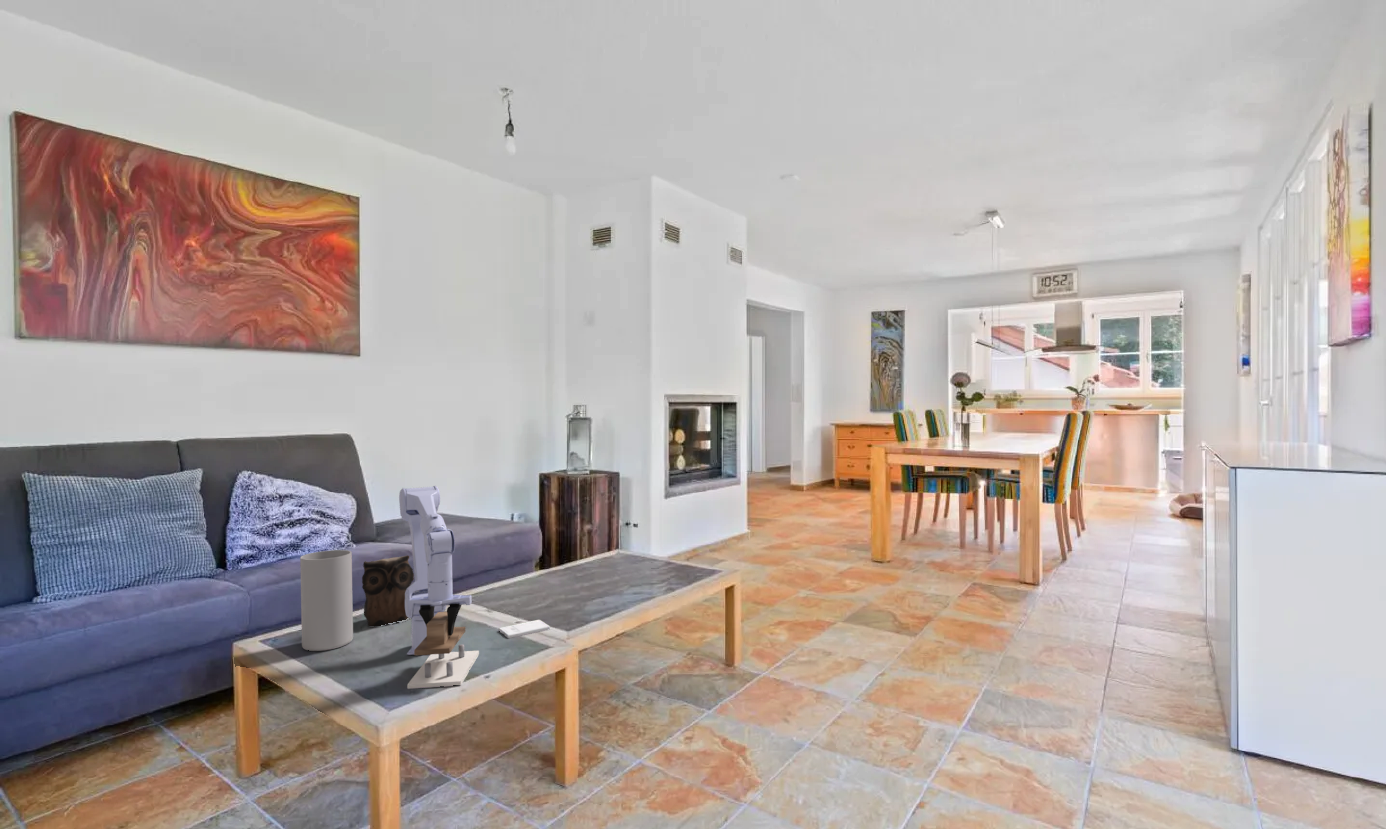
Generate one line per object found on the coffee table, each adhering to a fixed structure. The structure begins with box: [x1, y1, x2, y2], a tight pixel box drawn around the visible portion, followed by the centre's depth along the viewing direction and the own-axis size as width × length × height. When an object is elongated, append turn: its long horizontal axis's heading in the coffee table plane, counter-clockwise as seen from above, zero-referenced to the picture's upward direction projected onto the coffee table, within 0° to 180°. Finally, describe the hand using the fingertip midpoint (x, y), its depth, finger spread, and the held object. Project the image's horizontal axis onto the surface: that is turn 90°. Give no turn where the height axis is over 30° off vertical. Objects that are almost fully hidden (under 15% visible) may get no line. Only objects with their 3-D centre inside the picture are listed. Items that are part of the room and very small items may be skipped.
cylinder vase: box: [299, 549, 354, 652], centre depth 183 cm, size 12×12×25 cm
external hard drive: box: [498, 619, 551, 639], centre depth 192 cm, size 2×8×12 cm
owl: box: [361, 555, 415, 627], centre depth 202 cm, size 13×13×20 cm
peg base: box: [407, 643, 480, 690], centre depth 163 cm, size 20×12×4 cm, turn 7°
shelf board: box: [414, 611, 466, 656], centre depth 162 cm, size 16×8×6 cm, turn 6°
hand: (441, 634), depth 162 cm, fingers closed on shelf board, 4 cm apart
